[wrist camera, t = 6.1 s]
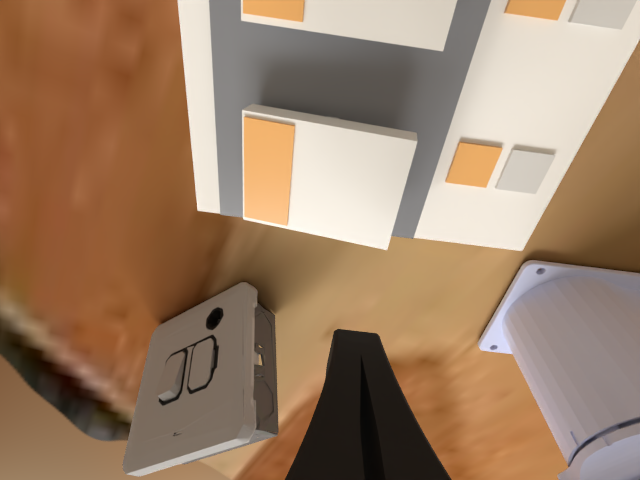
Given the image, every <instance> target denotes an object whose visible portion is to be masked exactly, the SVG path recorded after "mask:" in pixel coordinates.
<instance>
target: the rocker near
mask: <svg viewBox="0 0 640 480" xmlns="http://www.w3.org/2000/svg"><path fill="white" fill-rule="evenodd" d="M456 3H457V0H241V21H246V22H253V23H259V24H266V25H273V26H279V27H286V28H292V29H299V30H305V31H312V32H319V33H325V34H332V35H338V36H345V37H351V38H358V39H365V40H371V41H378V42H384V43H391V44H397V45H404V46H411V47H417V48H424V49H430V50H437V51H443V50H444V46H445V42H446V39H447V35H448V32H449V28H450V25H451V21H452V18H453V14H454V10H455V7H456Z"/></svg>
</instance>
